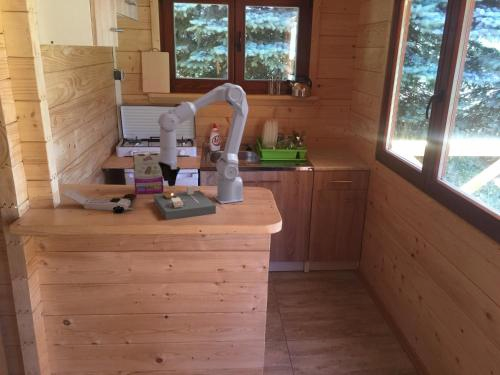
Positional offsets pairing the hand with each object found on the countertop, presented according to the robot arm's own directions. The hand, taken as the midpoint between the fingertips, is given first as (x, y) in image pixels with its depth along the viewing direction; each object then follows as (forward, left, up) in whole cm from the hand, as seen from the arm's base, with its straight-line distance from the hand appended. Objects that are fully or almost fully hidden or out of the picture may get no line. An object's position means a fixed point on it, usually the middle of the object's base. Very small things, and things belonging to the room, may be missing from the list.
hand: (169, 183), depth 154 cm
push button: (0, 0, -7) cm, 7 cm away
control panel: (-4, +5, -8) cm, 11 cm away
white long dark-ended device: (+24, -6, -9) cm, 26 cm away
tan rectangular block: (-8, 0, -5) cm, 9 cm away
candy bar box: (+4, -17, -9) cm, 19 cm away
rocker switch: (0, +10, -4) cm, 11 cm away
